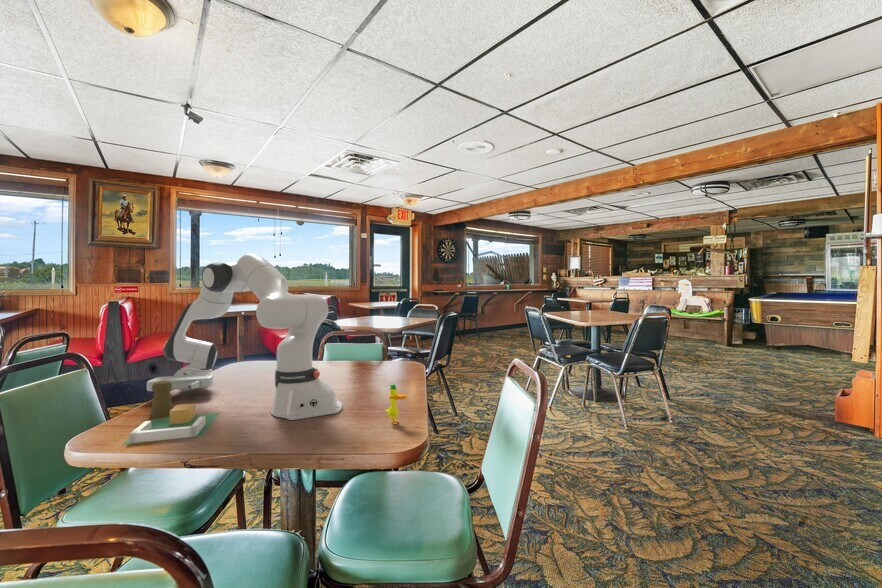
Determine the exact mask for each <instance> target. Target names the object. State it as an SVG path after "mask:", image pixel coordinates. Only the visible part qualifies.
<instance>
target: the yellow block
mask: <svg viewBox="0 0 882 588" xmlns="http://www.w3.org/2000/svg"><path fill="white" fill-rule="evenodd" d="M195 415H196V403H185V404H176V405H175V406H173V409H171V410H170V415H169V417H170V424H179V423H189V422H190V421H191V420H192V419H193V418H194V417H195Z"/></svg>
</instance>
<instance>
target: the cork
mask: <svg viewBox="0 0 882 588" xmlns="http://www.w3.org/2000/svg"><path fill="white" fill-rule="evenodd" d="M171 388H172V383H171V381H168V380H162V381H157V382H155V383H153V385H152V391H151V392H153V395H152V396H153V397H152V398H153V399H152V404H151V405H152V406H151V410H150V418H153V419H154V418H164V417H169V416H170V410H171V409H173V408H174V406H173V401H172V396H171V391H172V390H171Z"/></svg>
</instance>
